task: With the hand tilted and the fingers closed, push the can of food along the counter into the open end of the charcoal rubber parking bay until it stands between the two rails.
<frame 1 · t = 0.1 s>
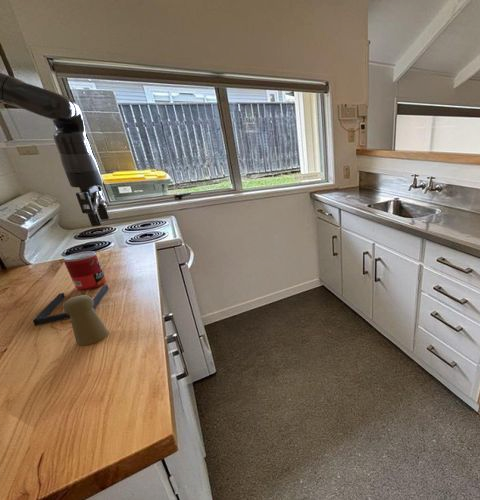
hand: (101, 222, 89), 21 cm above the counter, tool pointing down, fingers open, 8 cm apart
parking bay: (75, 305, 83), on the counter
canned food: (92, 285, 95), on the counter
cork: (93, 338, 69), on the counter
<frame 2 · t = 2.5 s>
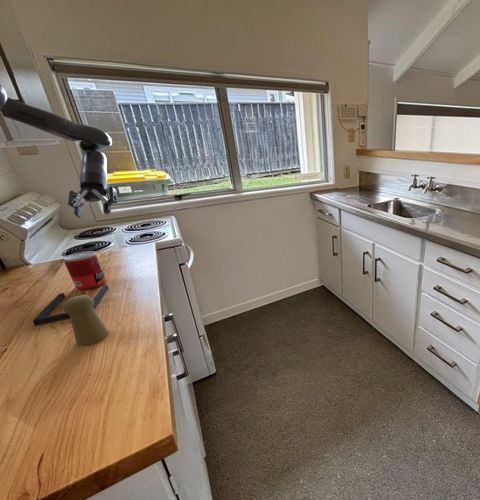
hand: (92, 215, 102), 20 cm above the counter, tool tilted 40°, fingers open, 8 cm apart
nothing on the counter moved.
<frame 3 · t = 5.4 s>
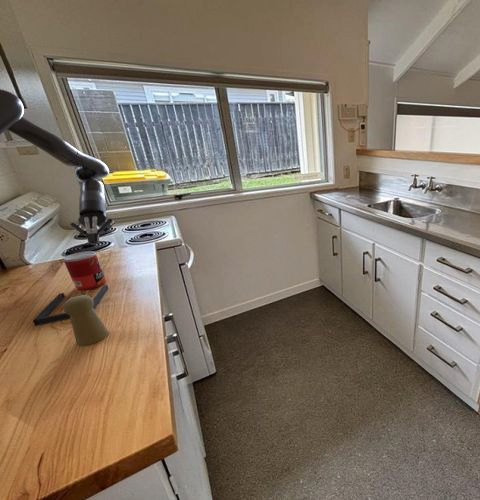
hand: (93, 243, 103), 11 cm above the counter, tool tilted 45°, fingers closed
nothing on the counter moved.
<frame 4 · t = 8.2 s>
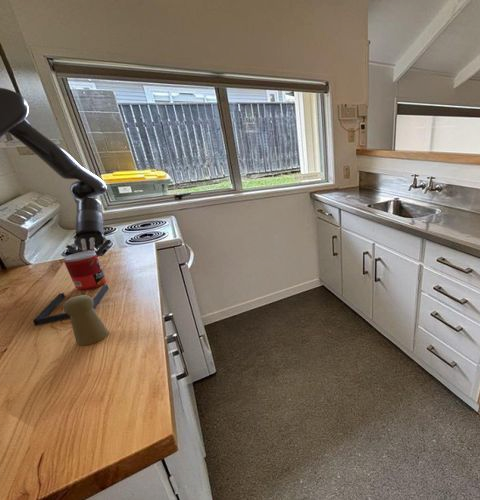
hand: (91, 267, 97), 5 cm above the counter, tool tilted 45°, fingers closed
canned food: (92, 285, 95), on the counter, touching gripper
everything else where it was.
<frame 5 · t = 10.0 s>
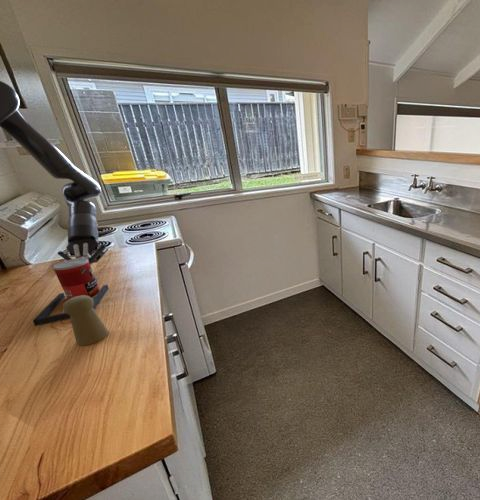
hand: (84, 275, 91), 5 cm above the counter, tool tilted 45°, fingers closed
canned food: (84, 294, 89), on the counter, touching gripper
everything else where it was.
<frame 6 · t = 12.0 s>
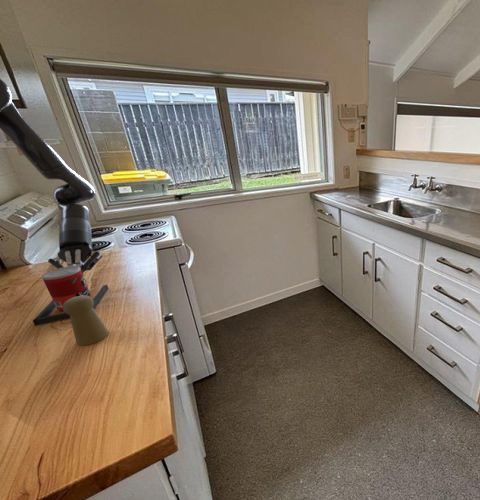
hand: (76, 283, 86), 5 cm above the counter, tool tilted 45°, fingers closed
canned food: (76, 305, 84), on the counter, touching gripper
everything else where it was.
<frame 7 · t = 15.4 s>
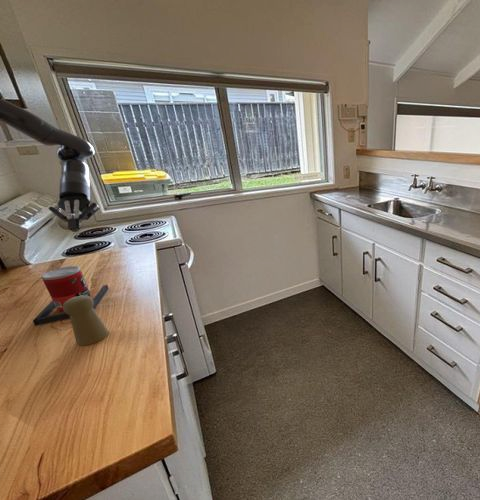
hand: (74, 230, 91), 18 cm above the counter, tool tilted 45°, fingers closed
canned food: (76, 305, 83), on the counter
everything else where it was.
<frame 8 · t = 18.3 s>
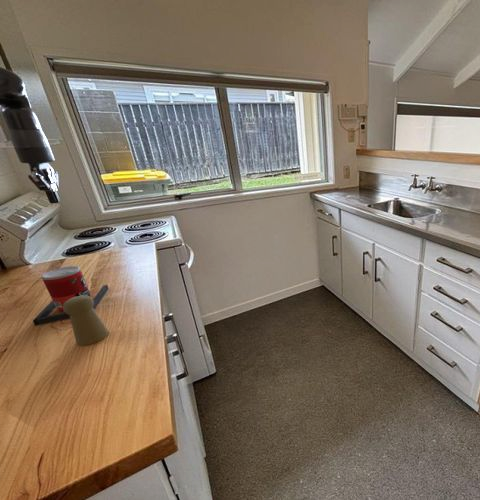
hand: (55, 202, 91), 27 cm above the counter, tool pointing down, fingers closed
nothing on the counter moved.
at the end: canned food inside the target area on the parking bay (0.9 cm from its centre), point 0.0 cm above the parking bay's base; canned food tilted 0°; canned food moved 14.1 cm from its start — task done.
